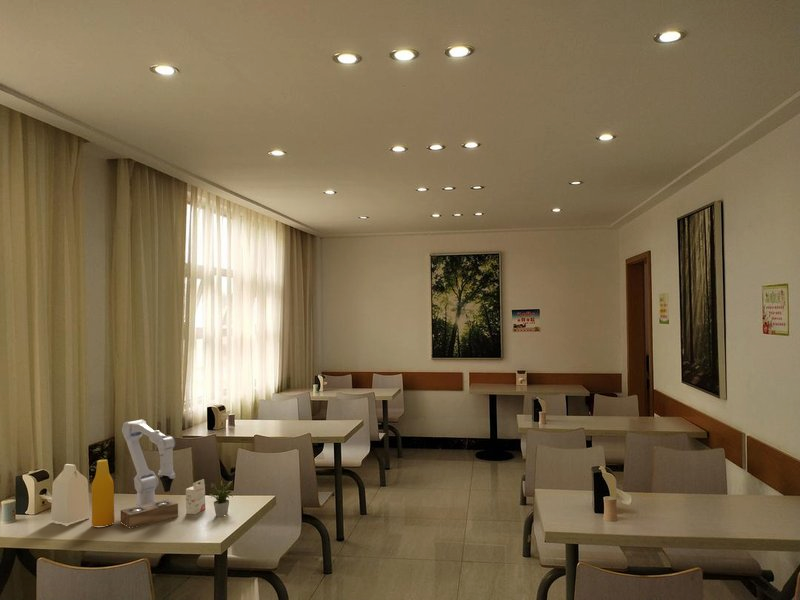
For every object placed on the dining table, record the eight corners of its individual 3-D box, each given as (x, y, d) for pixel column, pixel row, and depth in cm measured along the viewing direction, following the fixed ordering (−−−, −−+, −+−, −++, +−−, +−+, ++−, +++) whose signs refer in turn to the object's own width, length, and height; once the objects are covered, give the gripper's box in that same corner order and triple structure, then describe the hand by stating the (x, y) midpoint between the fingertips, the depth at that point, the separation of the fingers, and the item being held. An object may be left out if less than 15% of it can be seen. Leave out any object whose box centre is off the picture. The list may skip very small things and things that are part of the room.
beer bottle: (117, 524, 272) (116, 460, 273) (95, 529, 266) (94, 463, 267) (110, 520, 279) (109, 457, 280) (89, 525, 273) (88, 460, 274)
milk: (50, 523, 278) (50, 466, 279) (74, 515, 288) (73, 461, 289) (66, 526, 272) (66, 468, 273) (90, 518, 282) (89, 463, 284)
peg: (156, 515, 282) (156, 504, 282) (165, 513, 285) (164, 502, 285) (160, 517, 279) (160, 505, 279) (168, 515, 282) (168, 503, 282)
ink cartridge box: (197, 508, 293) (196, 478, 294) (205, 509, 291) (205, 478, 292) (185, 513, 285) (185, 482, 285) (194, 514, 283) (193, 483, 284)
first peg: (130, 522, 273) (130, 510, 273) (139, 520, 276) (139, 508, 276) (133, 524, 270) (133, 512, 271) (142, 522, 273) (142, 509, 273)
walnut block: (120, 523, 274) (120, 510, 274) (168, 511, 289) (167, 499, 289) (130, 528, 266) (129, 514, 266) (178, 516, 281) (177, 503, 282)
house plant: (202, 522, 272) (201, 485, 272) (203, 513, 285) (202, 478, 286) (235, 518, 276) (234, 482, 276) (234, 509, 289) (233, 475, 290)
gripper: (152, 462, 290) (152, 490, 289) (164, 466, 279) (165, 496, 279) (166, 459, 295) (167, 487, 294) (179, 463, 284) (179, 492, 284)
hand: (167, 491), depth 287 cm, fingers closed
